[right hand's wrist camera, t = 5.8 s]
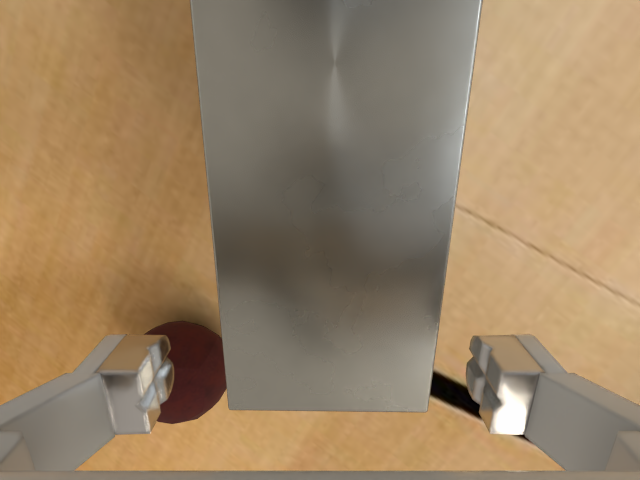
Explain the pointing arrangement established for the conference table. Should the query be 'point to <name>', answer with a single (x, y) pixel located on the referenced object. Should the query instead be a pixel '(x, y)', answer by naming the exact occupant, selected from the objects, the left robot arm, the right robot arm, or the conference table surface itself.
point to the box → (332, 192)
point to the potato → (192, 371)
